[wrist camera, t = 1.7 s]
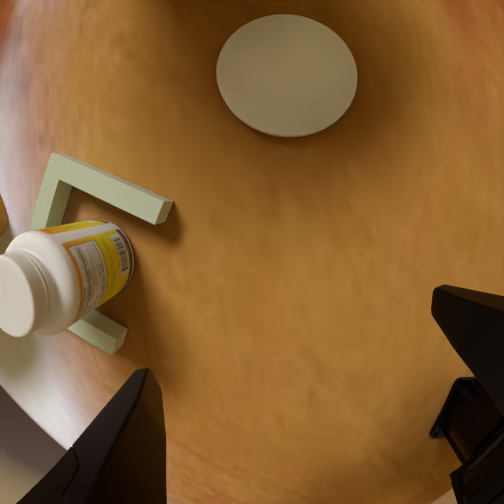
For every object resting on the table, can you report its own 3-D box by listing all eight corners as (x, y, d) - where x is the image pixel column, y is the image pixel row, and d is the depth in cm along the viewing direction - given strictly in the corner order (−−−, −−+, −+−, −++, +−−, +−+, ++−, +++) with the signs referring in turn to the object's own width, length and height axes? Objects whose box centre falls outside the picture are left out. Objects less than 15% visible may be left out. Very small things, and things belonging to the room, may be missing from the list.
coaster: (348, 149, 19) (351, 147, 18) (207, 128, 19) (205, 125, 19) (357, 32, 17) (360, 27, 17) (230, 14, 18) (228, 9, 17)
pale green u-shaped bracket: (173, 201, 20) (163, 201, 18) (123, 344, 22) (111, 355, 20) (67, 154, 20) (52, 152, 18) (32, 288, 22) (18, 294, 20)
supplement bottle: (63, 262, 22) (-34, 298, 11) (95, 202, 21) (-10, 212, 11) (113, 310, 22) (29, 374, 12) (152, 252, 21) (64, 296, 11)
